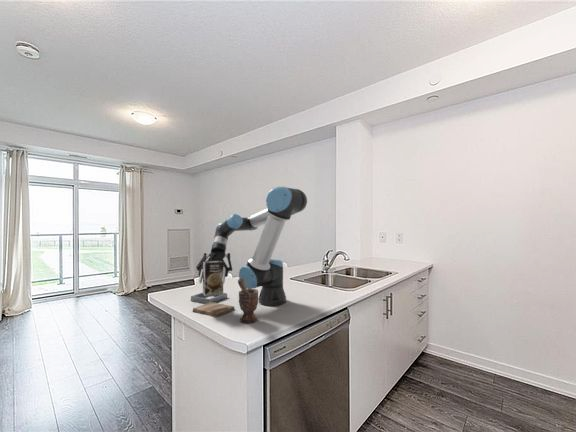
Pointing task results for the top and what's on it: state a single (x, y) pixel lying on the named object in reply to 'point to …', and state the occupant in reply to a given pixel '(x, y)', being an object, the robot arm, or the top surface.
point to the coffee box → (213, 277)
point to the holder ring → (204, 300)
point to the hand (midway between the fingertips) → (211, 282)
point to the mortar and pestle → (247, 302)
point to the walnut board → (213, 309)
